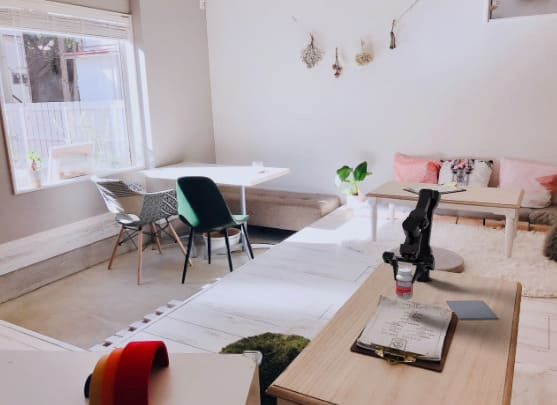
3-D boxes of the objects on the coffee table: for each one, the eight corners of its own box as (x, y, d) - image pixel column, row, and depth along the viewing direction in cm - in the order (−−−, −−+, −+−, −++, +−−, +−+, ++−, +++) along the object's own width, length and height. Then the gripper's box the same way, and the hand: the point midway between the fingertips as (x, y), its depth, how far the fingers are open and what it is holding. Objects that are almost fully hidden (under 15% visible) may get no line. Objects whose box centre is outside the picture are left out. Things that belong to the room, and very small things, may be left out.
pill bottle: (401, 291, 181) (402, 264, 178) (415, 296, 177) (417, 268, 174) (392, 297, 177) (393, 269, 174) (406, 302, 173) (408, 273, 170)
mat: (446, 302, 184) (446, 300, 184) (482, 301, 184) (483, 300, 183) (458, 319, 170) (459, 318, 170) (498, 319, 170) (498, 317, 170)
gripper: (384, 231, 179) (374, 268, 172) (435, 237, 170) (427, 277, 163) (389, 244, 187) (380, 280, 181) (438, 250, 179) (430, 289, 172)
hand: (403, 281), depth 174 cm, fingers closed on pill bottle, 6 cm apart
